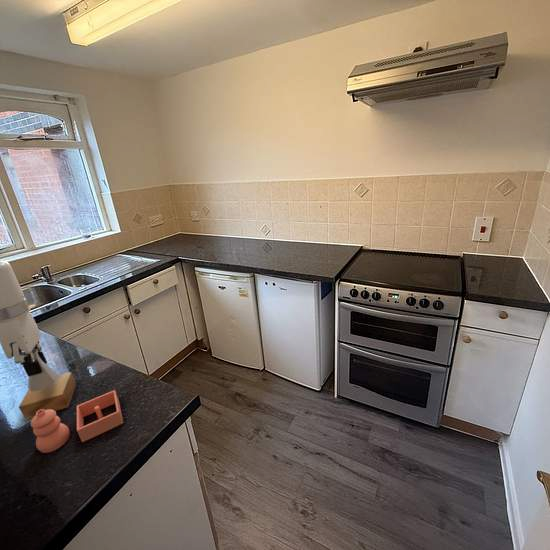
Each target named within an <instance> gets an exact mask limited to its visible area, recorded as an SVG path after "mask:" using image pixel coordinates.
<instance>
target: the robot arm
mask: <svg viewBox="0 0 550 550" xmlns="http://www.w3.org/2000/svg"><path fill="white" fill-rule="evenodd" d="M41 335H42V334H41V332H40V329H39V326H38V324H37V322H36V319H34V317H33V315H32V313H31V308H30V305H29V303H28V301H27V299H26V296H25V295H24V292H23V289H22V288H21V285H20V283H19V281H18V278H17V276H16V274H15V272H14V270H13V268H12V265H11V264H10V263H9V262H8V261H5V260H0V346H1V348H2V350H3V353H4V355H5V357H6V358H7V359H9V360H10V359H13V361H14V363H15V364H16V365H17V364H18V365H19V364H20V366H22V367H23V369H24V371H25V373H26V376H27V377H29V376H33V375H36V374H40V373H42V369H41V366H40V364H39V362H38V360H35V358H34V355H33V353H32V350H33V349H37V350H38V355H39V357H40V358H41V360H42V361H43V362H44V363H45V364H47V365H48V361H47V359H46V357H45V354H44V352H43V351H42V350H43V349H42V346H41V345H40V340H41ZM24 355H28V356H29V357H24Z"/></svg>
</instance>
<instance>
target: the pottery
mask: <svg viewBox="0 0 550 550" xmlns="http://www.w3.org/2000/svg"><path fill="white" fill-rule="evenodd" d="M113 405H115V408H116V411H114V412H113V413H111V414H107V415H106V416H104V415H103V413H102V410H103V409H105V408H108V407H110V406H113ZM94 413H95V414H96V416H97V420H94V421H92V422H90V423H88V424H86V425H84V423H85V422H84V420H85V419H84V417H87V416H90V415H91V414H94ZM122 424H124V419H123V414H122V409H121V403H120V400H119V397H118V395H117V391H116V389H113V390H111V391H109V392H107V393H104V394H102V395H100V396H96V397H95V398H92V399H90V400H87V401H85V402H83V403H80V404H78V405H76V433H77V434H78V436H79V439H80V441H81V443H84V442H86V441H88V440H90V439H92V438H95V437H97V436H99V435H101V434H103V433H106V432H108V431H110V430H112V429H114V428H116V427H118V426H121V425H122ZM30 427H31V428H32V429H33V430H32V432H33V435H34V436H35V437H36V439H35V446H36V447H35V448H36V449H37V451H39V452H40V453H42V454H48V453H52V452H54V451H56V450H58V449H60V448H61V447H62V446H63V445H65V444H66V442H67V441H69V438H70V434H71V433H70V429H69V427H68V426H67V424H65V423H61V418H60V416H58V415H57V411H54V410H52V409H49V410H44V409H40V410H39V411H37V412H36V416H34V418H31V419H30Z"/></svg>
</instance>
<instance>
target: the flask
mask: <svg viewBox="0 0 550 550" xmlns="http://www.w3.org/2000/svg"><path fill="white" fill-rule="evenodd" d="M32 353H33V355H34V358H35V360H38V362H39V364H40V366H41V369H42V373H40V374H36V375H33V376H28V379H27V381H28V382H27V388H28V390H29V389H30V391H31V392H33V391H37V390H41V389H44V388H46V387H48V386H50V385H52V384H54V383H56V381H57V379H58V378H59V376H60V374H59V373H58V372H56V370H54V369H53V368H52V367H50V366H49V365H48V363H47V364H45V363H44V362H43V361H42V360H41V358H40V357H39V355H38V350H37V349H33V350H32ZM23 357H29V356H28V355H24V356H23Z"/></svg>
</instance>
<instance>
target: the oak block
mask: <svg viewBox="0 0 550 550" xmlns="http://www.w3.org/2000/svg"><path fill="white" fill-rule="evenodd" d="M76 387H77V381H76V380H75V377H74V374H73V373H72V372H71V371H70V372H67V373H64V374H59V378H58V379H57V381H56V383H54V384H52V385H50V386H48V387H46V388H44V389H41V390H37V391H33V392H31V391H30V389H29V388H28V390H27V392H26V393H25V395H24V397H23V399H22V400H21V402H20V404H19V405H18V409H19V410H20V412H21V414H22V416H23V418H24V420H25V421H28V420H32V419H33V418H34V416H36V412H37V411H39V410H40V409H44V410H49V409H52V410H54V411H55V412H57V411H60V410H63V409H66V408H69V406H70V404H71V401H72V398H73V396H74V392H75V389H76Z"/></svg>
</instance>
